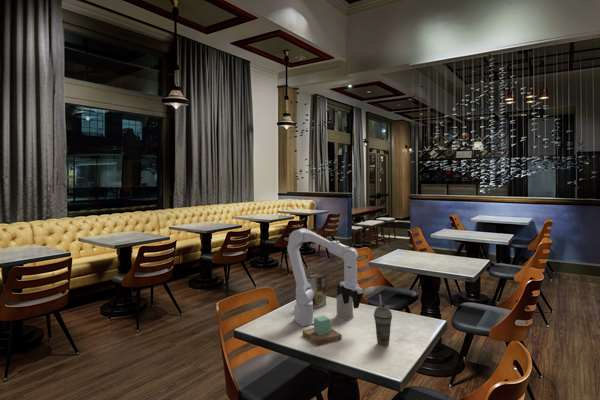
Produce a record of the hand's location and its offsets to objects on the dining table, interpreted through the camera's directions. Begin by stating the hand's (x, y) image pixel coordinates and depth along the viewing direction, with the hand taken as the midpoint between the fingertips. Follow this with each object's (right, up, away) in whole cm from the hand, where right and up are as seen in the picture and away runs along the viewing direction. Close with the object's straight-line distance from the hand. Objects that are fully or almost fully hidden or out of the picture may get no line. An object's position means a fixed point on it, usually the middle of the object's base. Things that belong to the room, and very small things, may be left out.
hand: (351, 305), depth 162 cm
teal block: (-13, -9, -9) cm, 18 cm away
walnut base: (-14, -11, -9) cm, 20 cm away
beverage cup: (+11, -11, -16) cm, 22 cm away
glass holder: (0, -10, +18) cm, 20 cm away
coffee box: (-14, -10, +33) cm, 37 cm away
